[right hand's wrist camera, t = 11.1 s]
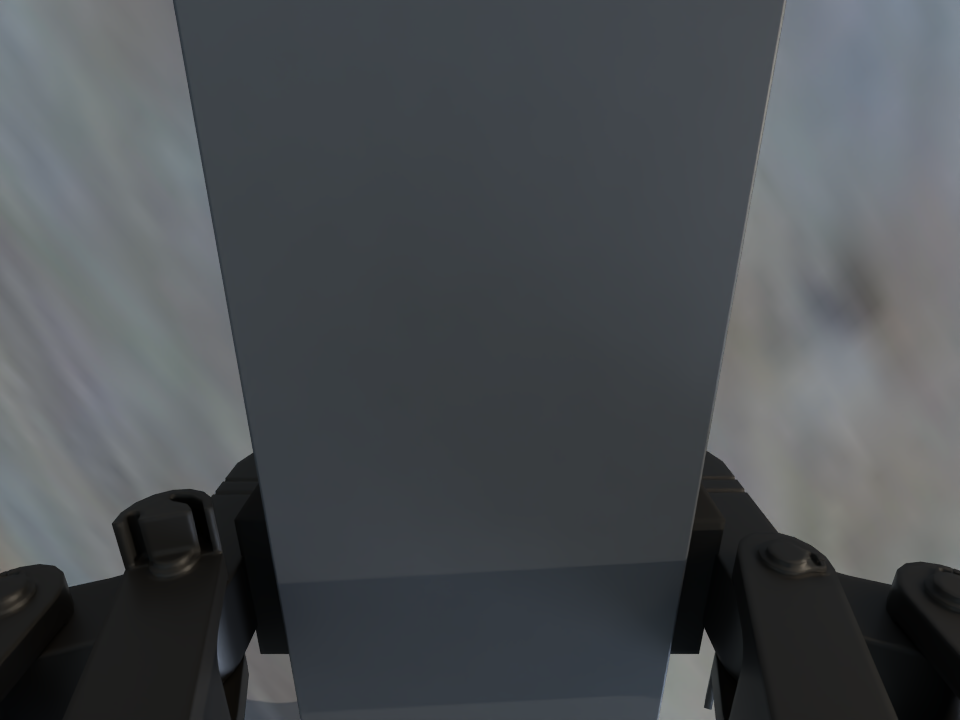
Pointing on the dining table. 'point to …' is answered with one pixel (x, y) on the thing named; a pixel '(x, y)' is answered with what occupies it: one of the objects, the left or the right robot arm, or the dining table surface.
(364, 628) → the bar
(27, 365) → the dining table surface
